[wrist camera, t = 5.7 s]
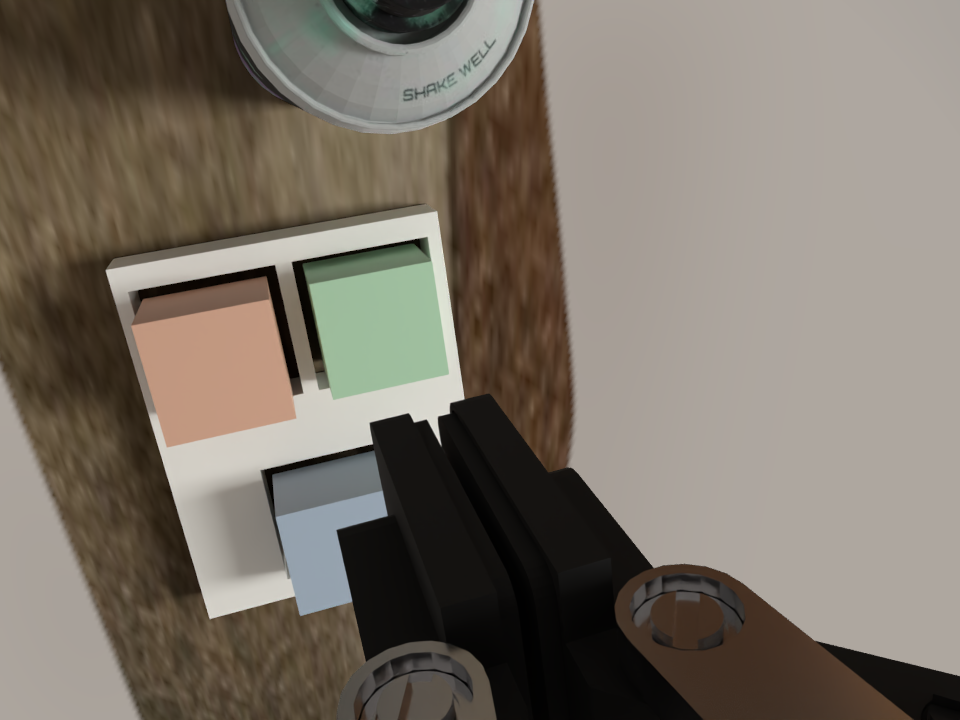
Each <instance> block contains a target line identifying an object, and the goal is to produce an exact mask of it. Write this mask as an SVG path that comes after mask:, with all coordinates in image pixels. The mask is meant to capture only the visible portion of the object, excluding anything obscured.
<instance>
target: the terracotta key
mask: <svg viewBox="0 0 960 720" xmlns="http://www.w3.org/2000/svg"><path fill="white" fill-rule="evenodd" d="M131 328H132V331H133V334H134V338H135V341H136V344H137V348H138V351H139V355H140V358H141V361H142V365H143V368H144V372H145V375H146V378H147V382H148V385H149V389H150V392H151V395H152V399H153V402H154V405H155V409H156V412H157V416H158V419H159V422H160V426H161V429H162V433H163V436H164V439H165V443H166V446H167V447H172V446H176V445H181V444H185V443H189V442H194V441H198V440H203V439H207V438H212V437H216V436H221V435H225V434H230V433H234V432H239V431H243V430H248V429H252V428H257V427H261V426H266V425H270V424H274V423H279V422H283V421H288V420H292V419H296V412H295V406H294V400H293V394H292V387H291V382H290V378H289V373H288V369H287V365H286V360H285V356H284V351H283V347H282V343H281V338H280V334H279V329H278V325H277V321H276V316H275V312H274V307H273V303H272V299H271V294H270V290H269V285H268V281H267V277H266V276H264V277H259V278H254V279H248V280H243V281H237V282H232V283H227V284H221V285H216V286H211V287H205V288H200V289H194V290H189V291H184V292H178V293H173V294H168V295H162V296H157V297H152V298H146V299H143V300H142V302H141V305H140V307H139V309H138V311H137V314H136V316H135V318H134V320H133V323H132V325H131Z"/></svg>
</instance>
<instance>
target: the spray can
mask: <svg viewBox="0 0 960 720" xmlns="http://www.w3.org/2000/svg"><path fill="white" fill-rule="evenodd" d="M533 2H534V0H226V5H227V10H228V15H229V20H230V25H231V30H232V34H233V39H234V44H235V47H236V49H237V51H238V54H239V56H240V59H241V61H242V62H243V64H244V65H245V67H246V68H247V70H248V72H249V73H250V74H251V76H252V77H253V78H254V79H255V80H256V81H257V82H258V83H259V84H260V85H261V86H262V87H263V88H265V89H266V90H267V91H269V92H270V93H271V94H273V95H274V96H276V97H278V98H280V99H282V100H284V101H286V102H288V103H290V104H292V105H294V106H296V107H298V108H300V109H302V110H304V111H306V112H308V113H310V114H312V115H314V116H316V117H318V118H320V119H322V120H324V121H327V122H329V123H331V124H333V125H336V126H340V127H343V128H347V129H351V130H355V131H359V132H363V133H381V134H395V133H401V132H408V131H415V130H420V129H422V128H425V127H428V126H430V125H433V124H436V123H438V122H441V121H444V120H446V119H447V118H450V117H452V116H454V115H456V114H457V113H459V112H460V111H462V110H464V109H465V108H467V107H468V106H470V105H471V104H473V103H475V102H476V101H477V100H478V99H479V98H480V97H481V96H482V95H484V94H485V93H486V92H487V91H488V90H489V89H490V88H491V87H492V86H493V85H494V84H495V83H496V82H497V81H498V79H499V78H500V77H501V75H502V74H503V72H504V71H505V69H506V68H507V67H508V65H509V64H510V62H511V61H512V60H513V58H514V56H515V54H516V52H517V50H518V47H519V45H520V43H521V41H522V39H523V37H524V34H525V32H526V29H527V26H528V22H529V18H530V14H531V10H532V6H533Z"/></svg>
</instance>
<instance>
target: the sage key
mask: <svg viewBox="0 0 960 720" xmlns="http://www.w3.org/2000/svg"><path fill="white" fill-rule="evenodd" d="M303 269H304V274H305V279H306V284H307V288H308V293H309V298H310V303H311V307H312V312H313V317H314V322H315V326H316V331H317V336H318V341H319V345H320V350H321V355H322V360H323V364H324V369H325V373H326V376H327V380H328V383H329V387H330V390H331V394H332V397H333V400H335V399H340V398H344V397H349V396H353V395H358V394H362V393H367V392H371V391H376V390H381V389H385V388H390V387H394V386H399V385H403V384H408V383H412V382H417V381H421V380H426V379H430V378H435V377H439V376H444V375H448V374H449V370H448V363H447V357H446V350H445V343H444V337H443V330H442V324H441V317H440V310H439V304H438V297H437V291H436V284H435V277H434V271H433V264H432V261H431V260H430V259H429V258H428V257H427V256H426V255H425V254H424V253H423V252H422V251H421V250H420V249H419V248H418V247H417V246H416V245H415V244H414V243H412V244H407V245H401V246H396V247H390V248H385V249H379V250H374V251H369V252H363V253H358V254H352V255H347V256H342V257H336V258H331V259H325V260H320V261H315V262H309V263H304V264H303Z"/></svg>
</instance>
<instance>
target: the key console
mask: <svg viewBox="0 0 960 720" xmlns="http://www.w3.org/2000/svg"><path fill="white" fill-rule="evenodd" d="M418 238H419V241H420V247H421V251H422V252H423V253H424V254H425V255H426V256H427V257H428V258H429V259H430V260H431V261H432V264H433V271H434V277H435V284H436V291H437V297H438V304H439V310H440V317H441V324H442V330H443V337H444V343H445V350H446V357H447V363H448V370H449V374H448V375H444V376H439V377H435V378H430V379H426V380H421V381H417V382H412V383H408V384H403V385H399V386H394V387H390V388H385V389H381V390H376V391H371V392H367V393H362V394H358V395H353V396H349V397H344V398H340V399H335V400H333V397H332V394H331V390H330V387H329V383H328V380H327V376H326V373H325V371H324V372H319V373H315V369H314V364H313V360H312V355H311V350H310V346H309V341H308V337H307V332H306V327H305V323H304V318H303V313H302V309H301V304H300V299H299V295H298V290H297V285H296V281H295V276H294V271H293V267H292V262H293V261H299V260H304V259H309V258H315V257H320V256H326V255H331V254H337V253H342V252H348V251H353V250H358V249H364V248H369V247H375V246H380V245H386V244H391V243H396V242H402V241H407V240H413V239H418ZM271 265H275V267H276V271H277V276H278V280H279V285H280V289H281V294H282V298H283V303H284V307H285V312H286V316H287V321H288V325H289V330H290V334H291V339H292V343H293V348H294V352H295V357H296V361H297V366H298V370H299V375H300V377H296V378H291V379H290V382H291V387H292V394H293V400H294V406H295V412H296V419H292V420H288V421H283V422H279V423H274V424H270V425H266V426H261V427H257V428H252V429H248V430H243V431H239V432H234V433H230V434H225V435H221V436H216V437H212V438H207V439H203V440H198V441H194V442H189V443H185V444H181V445H176V446H172V447H167V446H166V443H165V439H164V436H163V433H162V429H161V426H160V422H159V419H158V416H157V412H156V409H155V405H154V402H153V399H152V395H151V392H150V389H149V385H148V382H147V378H146V375H145V372H144V368H143V365H142V361H141V358H140V355H139V351H138V348H137V344H136V341H135V338H134V334H133V331H132V328H131V325H132V323H133V320H134V318H135V316H136V314H137V311H138V309H139V307H140V305H141V301H140V297H139V294H138V290H141V289H146V288H152V287H157V286H163V285H168V284H173V283H179V282H184V281H190V280H195V279H201V278H206V277H212V276H217V275H222V274H228V273H233V272H239V271H244V270H250V269H255V268H260V267H266V266H271ZM106 273H107V277H108V280H109V283H110V287H111V290H112V293H113V297H114V300H115V304H116V307H117V310H118V314H119V317H120V320H121V324H122V327H123V330H124V334H125V337H126V340H127V344H128V347H129V350H130V354H131V357H132V360H133V364H134V367H135V370H136V374H137V377H138V380H139V384H140V387H141V390H142V394H143V397H144V400H145V404H146V407H147V411H148V414H149V417H150V421H151V424H152V427H153V431H154V434H155V437H156V441H157V444H158V447H159V451H160V454H161V457H162V461H163V464H164V467H165V471H166V474H167V477H168V481H169V484H170V487H171V491H172V494H173V497H174V501H175V504H176V507H177V511H178V514H179V518H180V521H181V524H182V528H183V531H184V534H185V538H186V541H187V544H188V548H189V551H190V554H191V558H192V561H193V564H194V568H195V571H196V574H197V578H198V581H199V584H200V588H201V591H202V594H203V598H204V601H205V604H206V608H207V611H208V615H209V618H210V619H211V618H215V617H219V616H223V615H226V614H230V613H234V612H237V611H241V610H245V609H249V608H252V607H256V606H260V605H264V604H267V603H271V602H275V601H278V600H282V599H286V598H290V597H293V596H295V593H294V589H293V585H292V581H291V577H290V573H289V569H288V565H287V561H286V557H285V553H284V549H283V545H282V541H281V537H280V533H279V529H278V525H277V521H276V517H275V511H274V507H273V503H272V499H271V495H270V491H269V487H268V483H267V479H266V475H265V471H264V469H268V468H273V467H277V466H281V465H285V464H290V463H294V462H298V461H302V460H307V459H311V458H315V457H319V456H324V455H328V454H332V453H336V452H341V451H345V450H349V449H354V448H358V447H362V446H366V445H371V444H373V442H372V437H371V431H370V422H374V421H378V420H382V419H386V418H390V417H394V416H399V415H403V414H407V413H409V414H410V415H411V417H412V419H413V421H414V422H418V421H422V420H426V419H427V421H428V422H429V424H430V426H431V428H432V430H433V432H434V434H435V435H436V437H437V439H438V441H439V443H440V445H441V441H440V434H439V428H438V416H442V415H446V414H450V403H452V402H456V401H460V400H464V393H463V386H462V379H461V372H460V366H459V359H458V352H457V345H456V338H455V331H454V325H453V318H452V311H451V304H450V297H449V290H448V283H447V277H446V270H445V263H444V256H443V249H442V242H441V236H440V229H439V222H438V215H437V211H436V210H434V209H433V208H431V207H430V206H428V205H427V204H423V205H417V206H411V207H406V208H400V209H394V210H388V211H383V212H377V213H371V214H366V215H360V216H354V217H349V218H343V219H337V220H331V221H326V222H320V223H314V224H309V225H303V226H297V227H291V228H286V229H280V230H274V231H269V232H263V233H257V234H251V235H246V236H240V237H234V238H229V239H223V240H217V241H212V242H206V243H200V244H194V245H189V246H183V247H177V248H172V249H166V250H160V251H154V252H149V253H143V254H137V255H132V256H126V257H120V258H114V259H113V260H112V262H111V263H110V264H109V266H108V267H107V269H106Z"/></svg>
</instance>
